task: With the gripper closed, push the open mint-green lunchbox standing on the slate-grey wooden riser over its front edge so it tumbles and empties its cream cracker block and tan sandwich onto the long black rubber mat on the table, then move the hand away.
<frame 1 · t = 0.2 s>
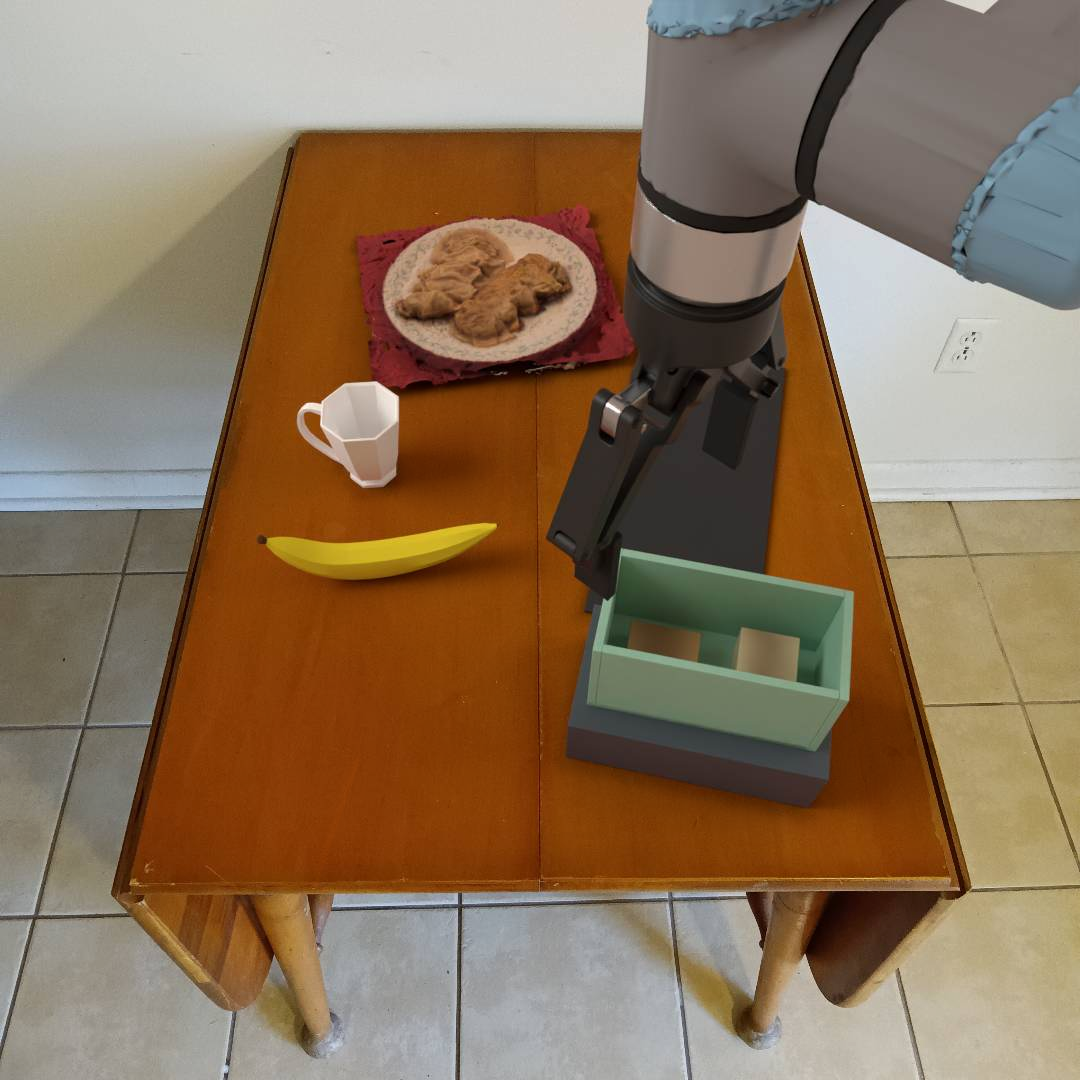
hand: (660, 518, 62), 17 cm above the table, tool pointing down, fingers open, 13 cm apart
lunchbox: (706, 677, 68), point 6 cm above the table, touching cracker, riser, sandwich
mat: (693, 480, 86), on the table
banana: (388, 570, 81), on the table
plate with food: (487, 299, 99), on the table
cracker: (757, 683, 67), point 7 cm above the table, touching lunchbox
sandwich: (659, 663, 68), point 7 cm above the table, touching lunchbox
cup: (358, 467, 87), on the table
riser: (693, 720, 73), on the table
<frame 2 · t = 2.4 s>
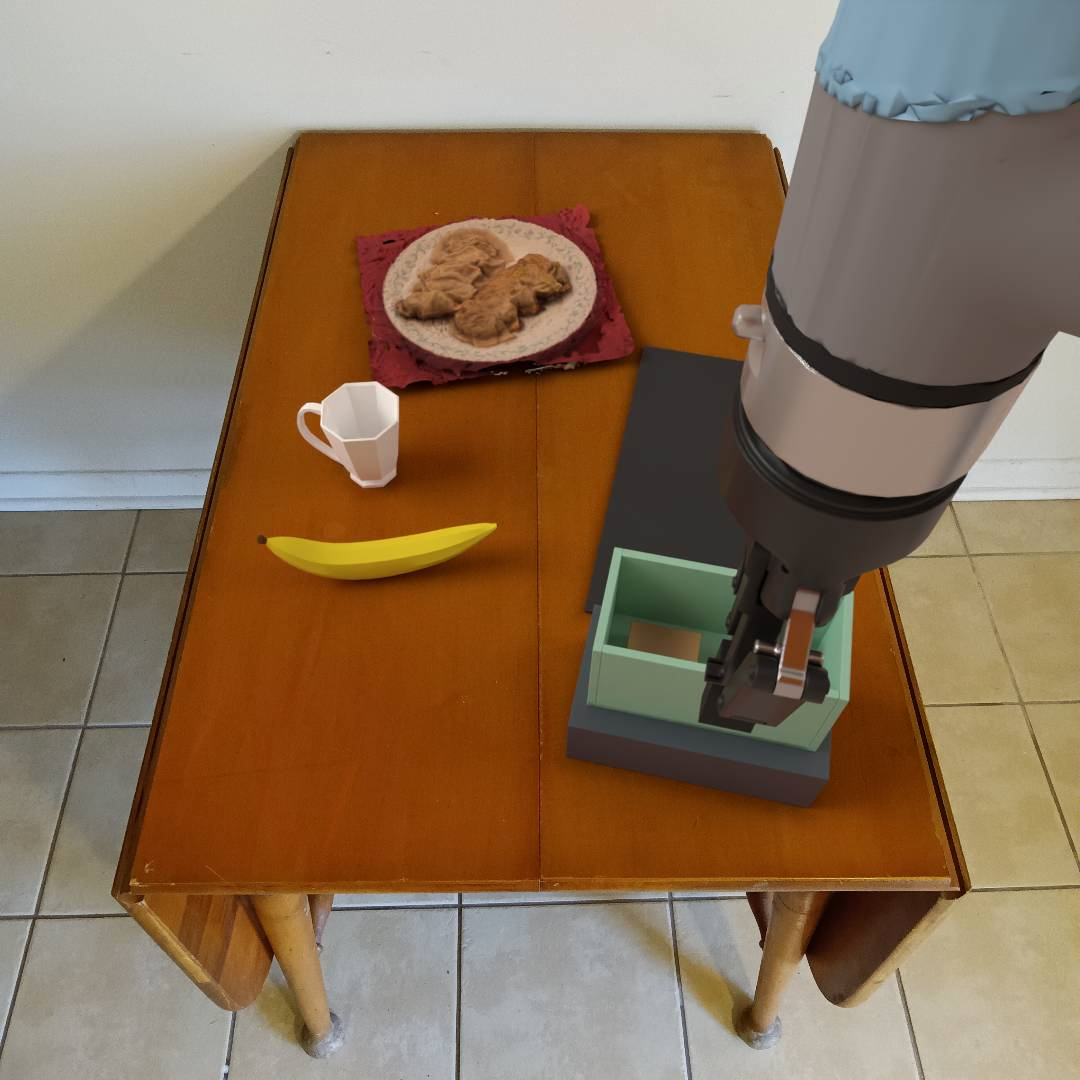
hand: (725, 714, 49), 22 cm above the table, tool pointing down, fingers closed
nothing on the table moved.
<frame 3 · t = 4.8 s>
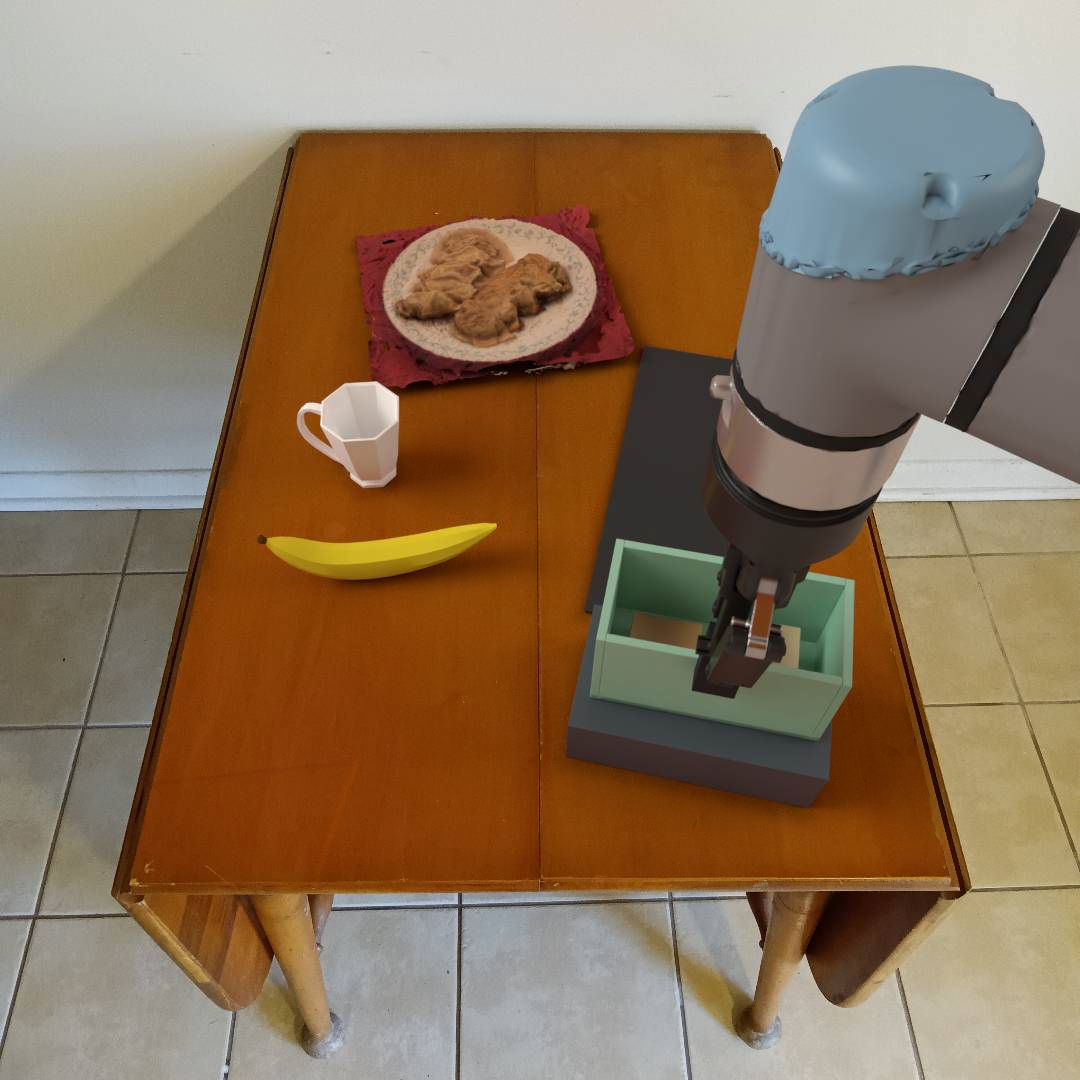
hand: (714, 684, 60), 13 cm above the table, tool pointing down, fingers closed
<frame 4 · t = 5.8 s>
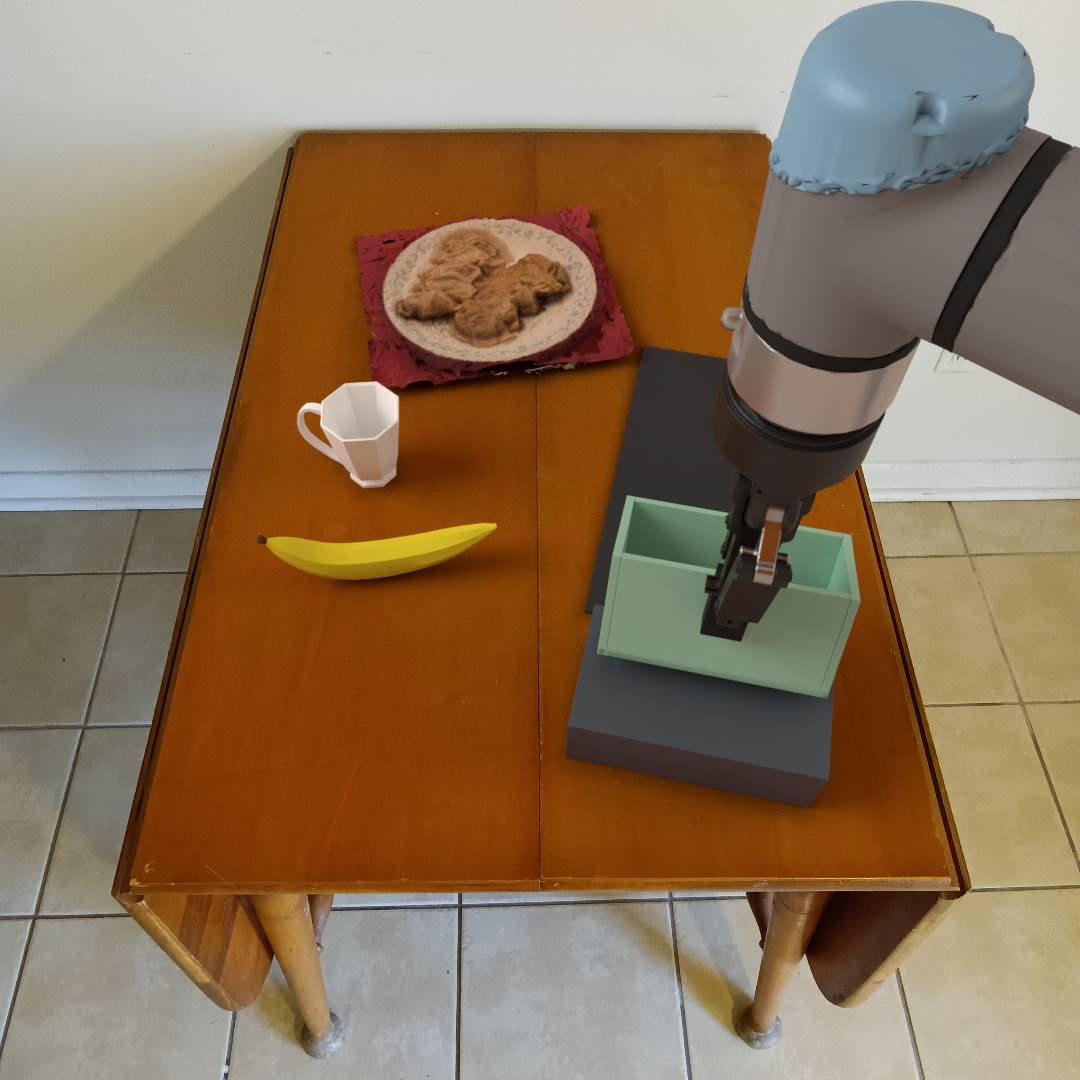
hand: (721, 628, 63), 13 cm above the table, tool pointing down, fingers closed
lunchbox: (712, 640, 69), point 7 cm above the table, tilted 23°, touching cracker, riser, sandwich
cracker: (761, 642, 69), point 7 cm above the table, tilted 23°, touching lunchbox
sandwich: (666, 624, 69), point 7 cm above the table, tilted 23°, touching lunchbox
everything else where it was.
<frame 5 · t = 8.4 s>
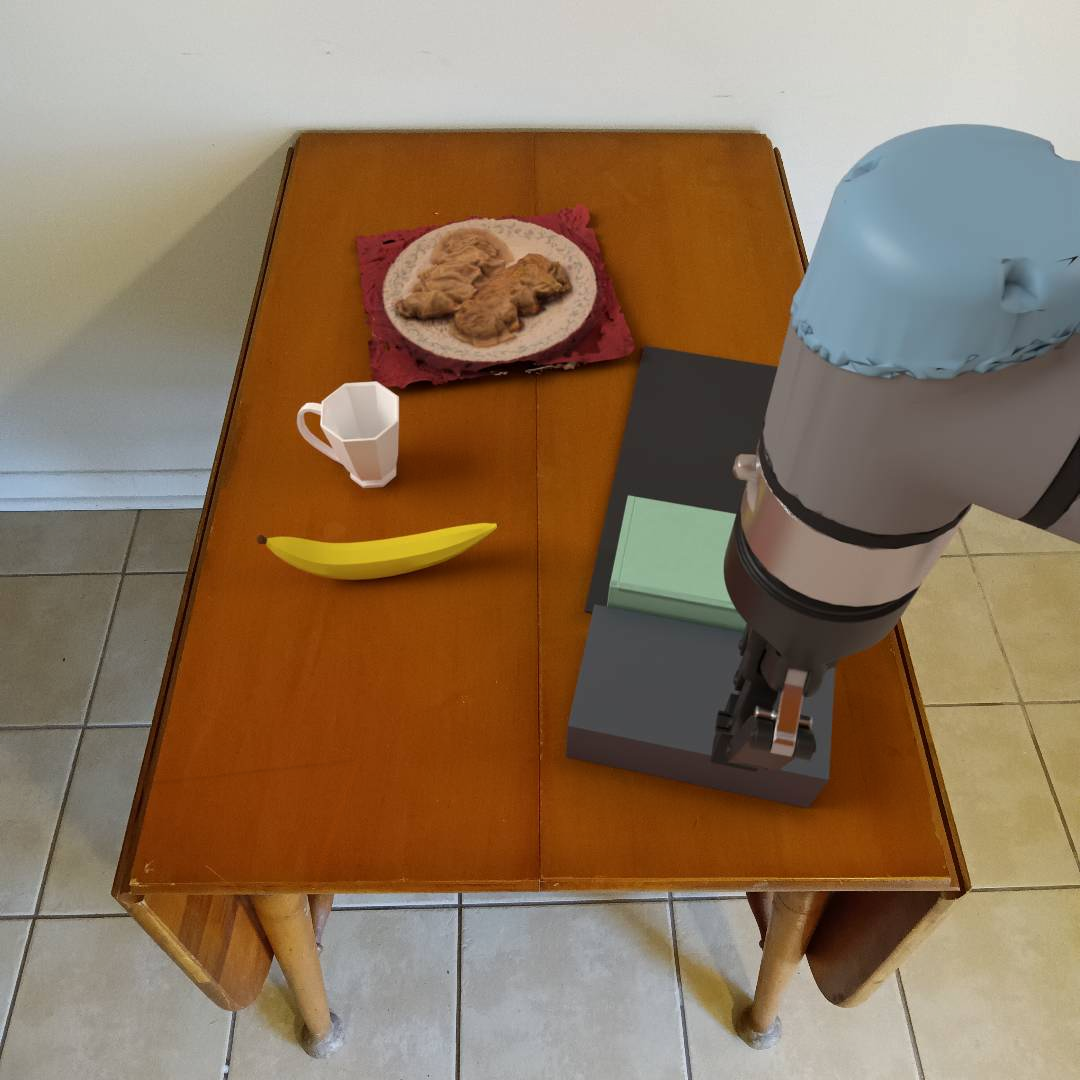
hand: (734, 755, 56), 14 cm above the table, tool pointing down, fingers closed
lunchbox: (709, 632, 72), point 4 cm above the table, tilted 90°, touching cracker, mat, sandwich
cracker: (752, 638, 74), point 3 cm above the table, tilted 90°, touching lunchbox
sandwich: (664, 622, 75), point 3 cm above the table, tilted 90°, touching lunchbox
everything else where it was.
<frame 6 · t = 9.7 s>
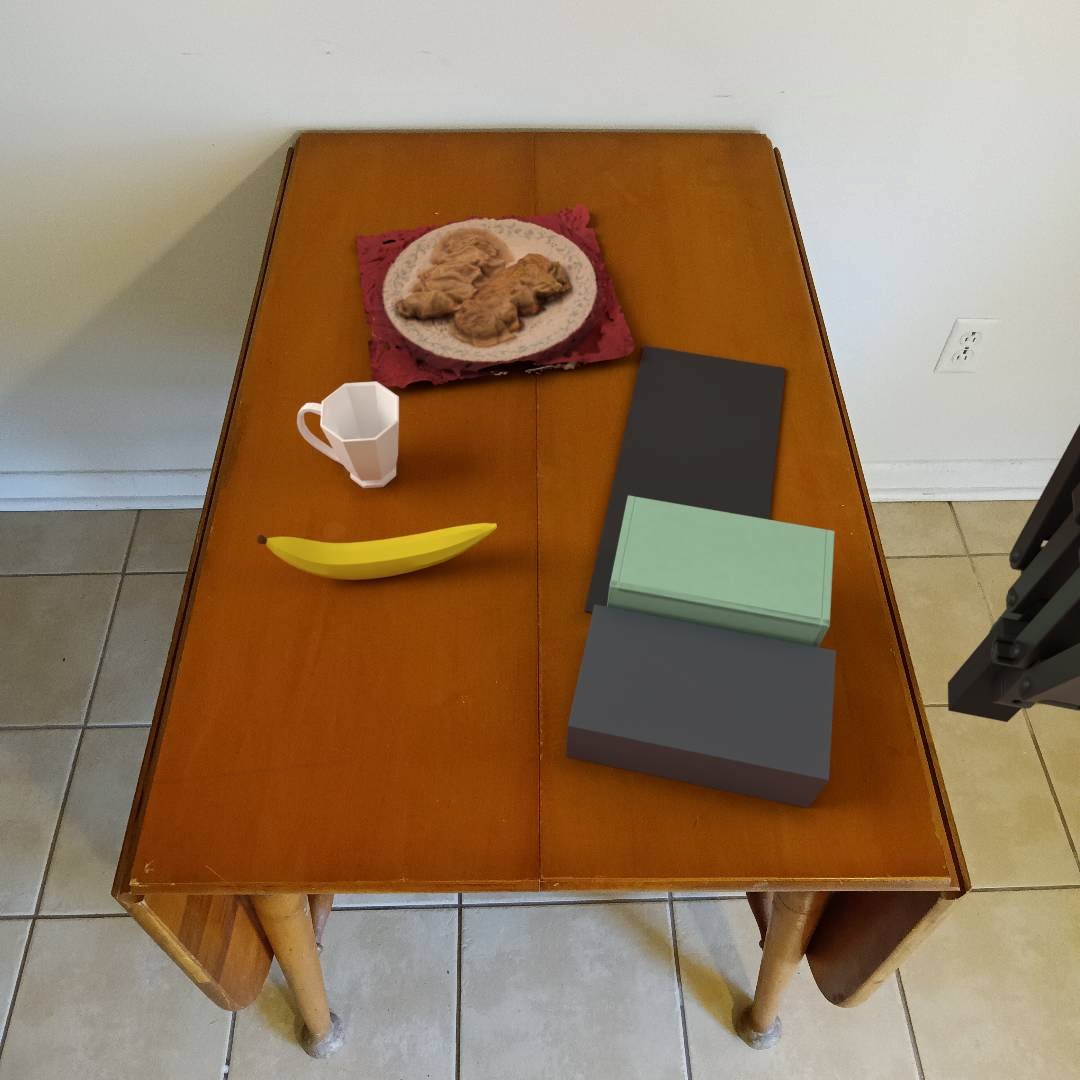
hand: (977, 702, 45), 26 cm above the table, tool pointing down, fingers closed
nothing on the table moved.
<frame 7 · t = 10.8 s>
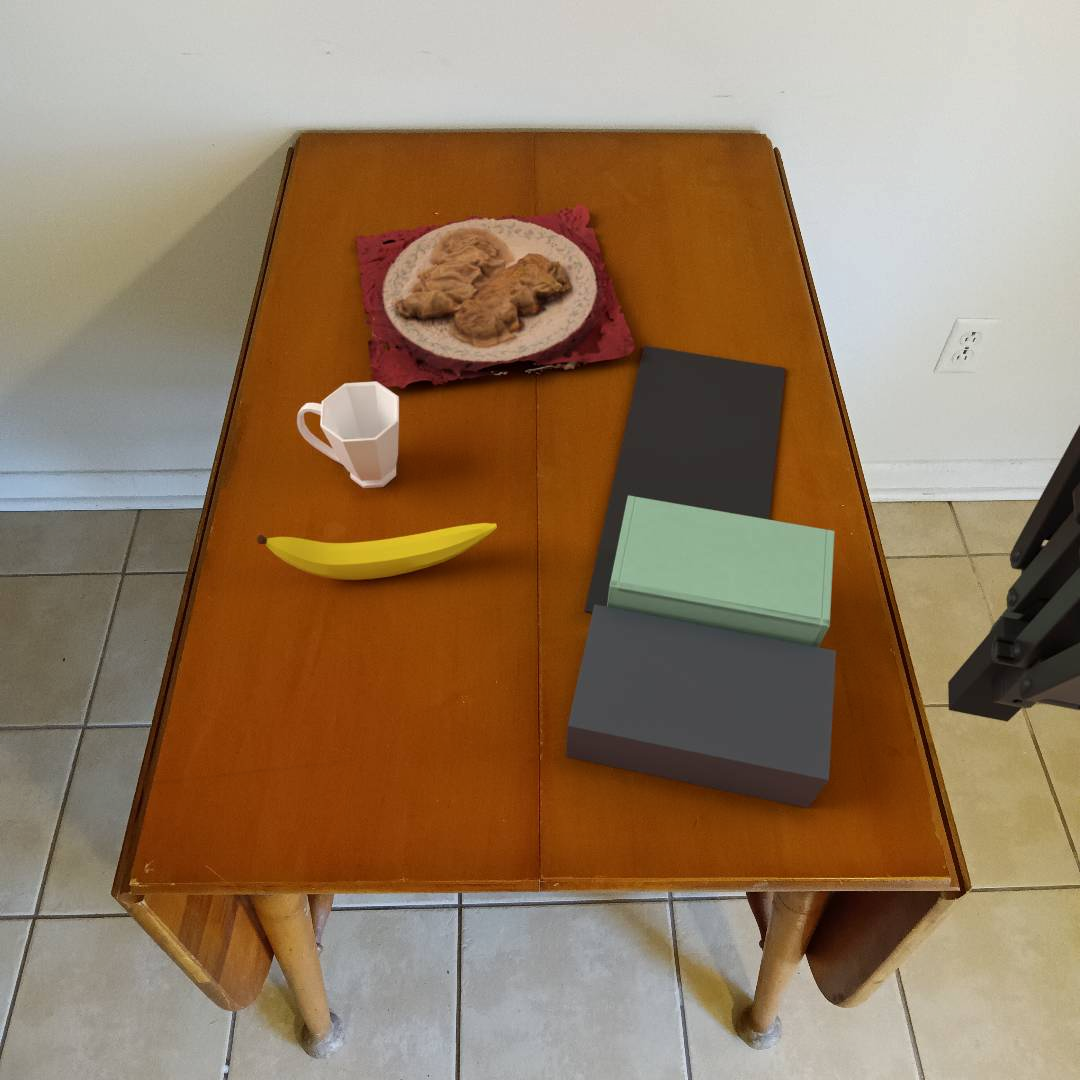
hand: (977, 701, 45), 26 cm above the table, tool pointing down, fingers closed
nothing on the table moved.
at the end: lunchbox tilted 90°; cracker inside the target area on the mat (17.8 cm from its centre), point 2.9 cm above the mat's base; sandwich inside the target area on the mat (16.5 cm from its centre), point 2.7 cm above the mat's base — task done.
